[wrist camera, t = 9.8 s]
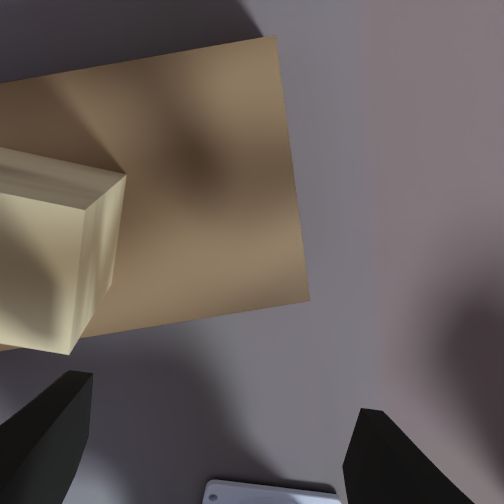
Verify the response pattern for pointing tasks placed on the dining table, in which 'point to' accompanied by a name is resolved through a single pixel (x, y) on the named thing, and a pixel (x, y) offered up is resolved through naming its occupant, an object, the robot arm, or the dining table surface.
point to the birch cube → (54, 247)
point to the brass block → (179, 177)
